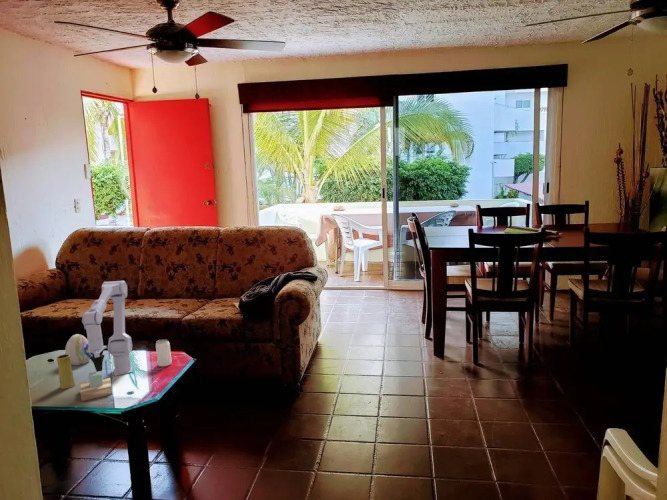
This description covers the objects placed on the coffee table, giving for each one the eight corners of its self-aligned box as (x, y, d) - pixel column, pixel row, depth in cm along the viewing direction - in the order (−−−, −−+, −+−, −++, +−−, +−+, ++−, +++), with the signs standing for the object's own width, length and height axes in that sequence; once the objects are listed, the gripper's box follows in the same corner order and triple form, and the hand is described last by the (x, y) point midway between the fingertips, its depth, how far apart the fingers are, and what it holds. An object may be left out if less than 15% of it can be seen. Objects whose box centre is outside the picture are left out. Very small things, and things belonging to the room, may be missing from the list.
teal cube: (90, 383, 229) (89, 373, 228) (103, 381, 231) (101, 370, 230) (90, 387, 224) (88, 376, 224) (103, 385, 226) (101, 374, 226)
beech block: (82, 392, 231) (80, 383, 230) (111, 385, 236) (110, 377, 235) (81, 402, 220) (80, 393, 219) (112, 395, 225) (111, 386, 224)
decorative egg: (86, 366, 262) (82, 337, 260) (62, 367, 262) (57, 339, 260) (97, 357, 274) (93, 330, 272) (74, 359, 274) (70, 331, 272)
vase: (63, 384, 240) (59, 354, 238) (77, 382, 241) (72, 353, 238) (57, 389, 234) (53, 359, 232) (71, 388, 235) (67, 357, 232)
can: (167, 367, 253) (164, 343, 251) (155, 366, 254) (152, 343, 253) (174, 362, 259) (171, 338, 258) (162, 362, 261) (159, 338, 259)
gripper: (105, 341, 221) (109, 371, 223) (104, 332, 234) (108, 361, 236) (87, 344, 218) (91, 375, 220) (87, 335, 231) (91, 364, 233)
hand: (99, 368), depth 228 cm, fingers open, 7 cm apart
